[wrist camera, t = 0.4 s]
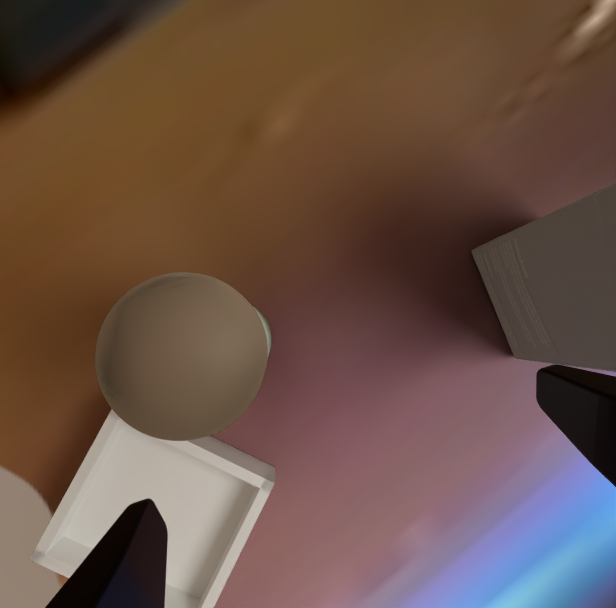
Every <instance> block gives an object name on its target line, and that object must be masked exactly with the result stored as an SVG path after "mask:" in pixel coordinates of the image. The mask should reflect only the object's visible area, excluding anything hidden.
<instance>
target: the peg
mask: <svg viewBox="0 0 616 608" xmlns="http://www.w3.org/2000/svg"><path fill="white" fill-rule="evenodd" d="M271 345H272V332H271V328H270V325H269V323H268V321H267V319H266V318H265V317H264V315H263V314H262V313H261V312H260V311H259V310H257V309H256V308H255V307H253V306H252V305H251V304H250V303H249V302H248V301H247V300H246V299H245V297H244V296H243V295H241V294H240V293H239V292H237V291H236V290H235V289H234V288H232V287H231V286H229V285H228V284H226V283H224V282H223V281H220V280H218V279H216V278H213V277H211V276H207V275H204V274H199V273H192V272H175V273H167V274H163V275H159V276H156V277H153V278H150V279H148V280H146V281H144V282H142V283H140V284H138V285H136V286H135V287H133V288H132V289H131V290H129V291H128V292H127V293H126V294H124V295H123V296H122V297H121V298H120V299H119V300H118V301H117V302H116V304H115V305H114V306H113V307H112V308H111V310H110V311H109V313H108V315H107V316H106V318H105V320H104V322H103V324H102V326H101V329H100V332H99V335H98V338H97V343H96V348H95V369H96V375H97V379H98V383H99V386H100V389H101V391H102V394H103V395H104V397H105V399H106V401H107V403H108V404H109V406H110V407H111V408H112V410H113V411H114V412H115V413H116V414H117V415H118V416H119V417H120V418H121V419H122V420H123V421H124V422H125V423H127V424H128V425H129V426H131V427H132V428H134V429H136V430H137V431H139V432H141V433H143V434H146V435H148V436H151V437H154V438H158V439H162V440H171V441H187V440H194V439H199V438H202V437H206V436H209V435H211V434H214V433H216V432H218V431H220V430H222V429H223V428H225V427H227V426H228V425H230V424H231V423H232V422H234V421H235V420H236V419H237V418H238V417H239V416H240V415H241V414H243V413H244V412H245V410H246V409H247V408H248V407H249V405H250V404H251V403H252V401H253V400H254V398H255V396H256V394H257V393H258V391H259V388H260V386H261V384H262V381H263V377H264V374H265V370H266V366H267V359H268V355H269V353H270V350H271Z"/></svg>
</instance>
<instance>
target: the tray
mask: <svg viewBox="0 0 616 608" xmlns="http://www.w3.org/2000/svg"><path fill="white" fill-rule="evenodd" d="M274 484H275V467H273V466H271V465H269V464H267V463H265V462H263V461H261V460H258V459H256V458H254V457H252V456H250V455H248V454H246V453H244V452H242V451H240V450H238V449H236V448H234V447H232V446H230V445H228V444H226V443H224V442H221V441H219V440H217V439H215V438H213V437H211V436H206V437H202V438H199V439H194V440H187V441H171V440H162V439H158V438H154V437H151V436H148V435H146V434H143V433H141V432H139V431H137V430H136V429H134V428H132V427H131V426H129V425H128V424H127V423H125V422H124V421H123V420H122V419H121V418H120V417H119V416H118V415H117V414H116V413H115V412H114V411H113V410H112V409H111V411H110V413H109V415H108V417H107V419H106V420H105V422H104V424H103V426H102V428H101V430H100V431H99V433H98V435H97V437H96V439H95V441H94V442H93V444H92V446H91V448H90V450H89V451H88V453H87V455H86V457H85V459H84V461H83V462H82V464H81V466H80V468H79V470H78V472H77V473H76V475H75V477H74V479H73V481H72V482H71V484H70V486H69V488H68V490H67V492H66V493H65V495H64V497H63V499H62V501H61V503H60V504H59V506H58V508H57V510H56V512H55V514H54V515H53V517H52V519H51V521H50V523H49V524H48V526H47V528H46V530H45V532H44V534H43V535H42V537H41V539H40V542H39V543H38V545H37V547H36V548H35V550H34V552H33V554H32V556H31V557H30V559H29V560H30V561H32V562H35V563H37V564H39V565H41V566H43V567H46V568H48V569H50V570H52V571H54V572H56V573H59V574H61V575H63V576H65V577H67V578H70V577H71V575H72V574H73V573H74V572H75V570H76V569H77V568H78V567H79V566H80V564H81V563H82V562H83V561H84V559H85V558H86V557H87V556H88V554H89V553H90V552H91V551H92V550H93V548H94V547H95V546H96V545H97V543H98V542H99V541H100V540H101V538H102V537H103V536H104V535H105V534H106V532H107V531H108V530H109V529H110V527H111V526H112V525H113V524H114V522H115V521H116V520H117V519H118V518H119V516H120V515H121V514H122V513H123V511H124V510H125V509H126V508H127V507H128V506H129V505H130V504H132V503H134V502H137V501H140V500H143V499H147V498H150V499H152V500H153V501H154V503H155V505H156V507H157V508H158V510H159V512H160V514H161V516H162V518H163V520H164V521H165V523H166V526H167V531H168V544H167V565H166V587H165V608H214V606H215V604H216V602H217V599H218V597H219V595H220V593H221V591H222V589H223V587H224V585H225V583H226V581H227V579H228V577H229V575H230V573H231V571H232V569H233V567H234V565H235V563H236V561H237V559H238V557H239V555H240V553H241V551H242V549H243V547H244V545H245V543H246V540H247V538H248V536H249V534H250V532H251V530H252V528H253V526H254V524H255V522H256V520H257V518H258V516H259V514H260V512H261V510H262V508H263V506H264V504H265V502H266V500H267V498H268V496H269V494H270V492H271V490H272V488H273V486H274Z"/></svg>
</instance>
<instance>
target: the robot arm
mask: <svg viewBox="0 0 616 608" xmlns="http://www.w3.org/2000/svg"><path fill="white" fill-rule="evenodd" d="M536 398H537V402H538V404H539V406H540V407H541V409H542V410H543V411H544V412H545V413H546V414H547V416H548V417H549V418H550V419H551V420H552V421H553V422H554V423H555V424H556V425H557V427H558V428H559V429H560V430H561V431H562V432H563V433H564V434H565V435H566V437H567V438H568V439H569V440H570V441H571V442H572V443H573V444H574V445H575V446H576V448H577V449H578V450H579V451H580V452H581V453H582V454H583V455H584V456H585V457H586V458H587V460H588V461H589V462H590V463H591V464H592V465H593V466H594V467H595V468H596V469H597V470H598V471H599V472H600V473H601V474H602V475H604V476H605V477H606V478H607V479H608V480H609V481H610V482H611V483H612V484H613V485H614V486H615V487H616V377H615V376H610V375H605V374H601V373H596V372H591V371H586V370H582V369H577V368H572V367H567V366H562V365H551V366H548V367H544V368H541V369H540V370H538V372H537V376H536ZM167 544H168V531H167V526H166V523H165V521H164V520H163V518H162V516H161V514H160V512H159V510H158V508H157V507H156V505H155V503H154V501H153V500H152V499H150V498H147V499H143V500H140V501H137V502H134V503H132V504H130V505H129V506H128V507H127V508H126V509H125V510H124V511H123V513H122V514H121V515H120V516H119V518H118V519H117V520H116V521H115V522H114V524H113V525H112V526H111V527H110V529H109V530H108V531H107V532H106V534H105V535H104V536H103V537H102V538H101V540H100V541H99V542H98V543H97V545H96V546H95V547H94V548H93V550H92V551H91V552H90V553H89V554H88V556H87V557H86V558H85V559H84V561H83V562H82V563H81V564H80V566H79V567H78V568H77V569H76V570H75V572H74V573H73V574H72V575H71V577H70V578H69V579H68V580H67V582H66V583H65V584H64V585H63V586H62V588H61V589H60V590H59V592H58V593H57V594H56V595H55V596H54V598H53V599H52V600H51V601H50V602H49V604H48V605H47V606H46V607H45V608H165V587H166V565H167Z"/></svg>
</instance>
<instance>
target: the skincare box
mask: <svg viewBox="0 0 616 608" xmlns="http://www.w3.org/2000/svg"><path fill="white" fill-rule="evenodd" d="M471 252H472V255H473V258H474V260H475V262H476V265H477V267H478V269H479V272H480V274H481V277H482V279H483V282H484V284H485V286H486V289H487V291H488V294H489V296H490V299H491V301H492V303H493V306H494V308H495V311H496V313H497V316H498V318H499V321H500V323H501V326H502V328H503V331H504V333H505V336H506V338H507V340H508V343H509V345H510V348H511V350H512V352H513V355H514V357H515V358H517V359H523V360H530V361H538V362H545V363H553V364H560V365H568V366H576V367H584V368H592V369H599V370H606V371H614V372H616V183H615V184H613V185H611V186H609V187H606V188H604V189H602V190H599V191H597V192H595V193H593V194H591V195H588V196H586V197H584V198H582V199H580V200H578V201H576V202H574V203H572V204H569V205H567V206H565V207H563V208H561V209H559V210H557V211H555V212H552V213H550V214H548V215H546V216H544V217H541V218H539V219H537V220H535V221H532V222H530V223H528V224H526V225H524V226H522V227H520V228H517V229H515V230H513V231H511V232H509V233H507V234H504V235H502V236H500V237H498V238H495V239H493V240H491V241H489V242H487V243H485V244H483V245H481V246H479V247H477V248H475V249H473V250H471Z"/></svg>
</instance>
